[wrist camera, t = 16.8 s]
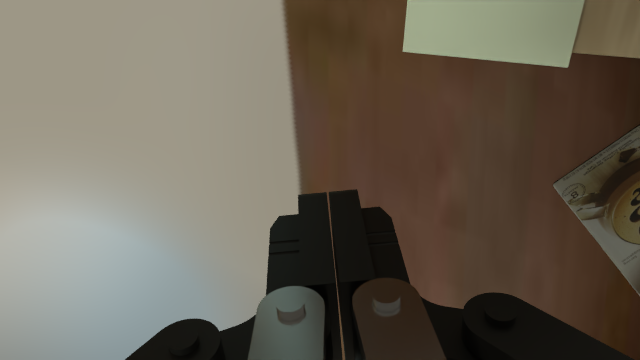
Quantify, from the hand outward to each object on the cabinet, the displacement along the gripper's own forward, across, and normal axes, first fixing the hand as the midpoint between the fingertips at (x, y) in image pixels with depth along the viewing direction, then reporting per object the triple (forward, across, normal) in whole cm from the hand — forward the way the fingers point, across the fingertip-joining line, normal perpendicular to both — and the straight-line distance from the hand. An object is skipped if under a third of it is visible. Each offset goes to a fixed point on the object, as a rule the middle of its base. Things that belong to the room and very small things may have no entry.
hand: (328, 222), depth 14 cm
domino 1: (+24, -6, 0) cm, 25 cm away
